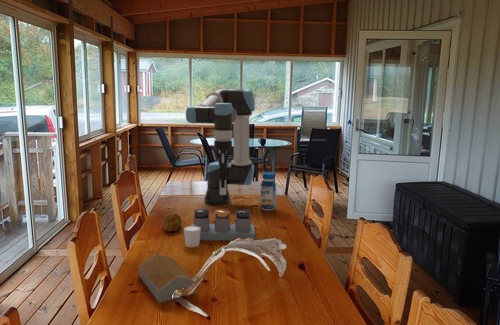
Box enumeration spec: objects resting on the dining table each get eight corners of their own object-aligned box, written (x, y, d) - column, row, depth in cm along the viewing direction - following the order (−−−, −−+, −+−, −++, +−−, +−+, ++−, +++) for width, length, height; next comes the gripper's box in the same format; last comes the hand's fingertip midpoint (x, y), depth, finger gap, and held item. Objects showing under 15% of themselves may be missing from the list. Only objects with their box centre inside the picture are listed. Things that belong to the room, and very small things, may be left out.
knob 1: (195, 224, 173) (194, 208, 171) (209, 224, 173) (209, 208, 172) (193, 229, 166) (193, 212, 165) (208, 229, 167) (208, 213, 165)
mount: (191, 230, 176) (191, 212, 174) (253, 230, 177) (253, 212, 176) (188, 240, 164) (188, 220, 163) (255, 240, 165) (255, 221, 164)
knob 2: (235, 224, 173) (235, 208, 172) (249, 225, 174) (250, 209, 173) (235, 229, 167) (236, 213, 166) (250, 229, 168) (250, 213, 166)
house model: (197, 294, 120) (197, 271, 119) (158, 304, 114) (157, 280, 112) (173, 269, 137) (173, 249, 136) (138, 277, 130) (137, 256, 129)
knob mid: (215, 224, 173) (215, 208, 172) (229, 224, 173) (229, 208, 172) (214, 229, 167) (214, 213, 165) (229, 229, 167) (229, 213, 166)
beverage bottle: (278, 209, 212) (279, 173, 209) (266, 211, 207) (267, 174, 204) (269, 205, 219) (270, 170, 216) (257, 207, 214) (257, 172, 211)
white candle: (194, 240, 164) (194, 224, 163) (204, 245, 159) (204, 228, 158) (180, 244, 159) (180, 228, 158) (190, 249, 154) (190, 232, 153)
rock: (161, 237, 178) (163, 218, 184) (179, 239, 180) (180, 219, 186) (164, 227, 169) (166, 206, 175) (183, 229, 171) (184, 208, 177)
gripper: (214, 138, 170) (214, 190, 174) (213, 141, 157) (213, 198, 161) (232, 138, 170) (231, 190, 174) (232, 142, 157) (231, 198, 162)
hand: (222, 194), depth 168 cm, fingers closed
